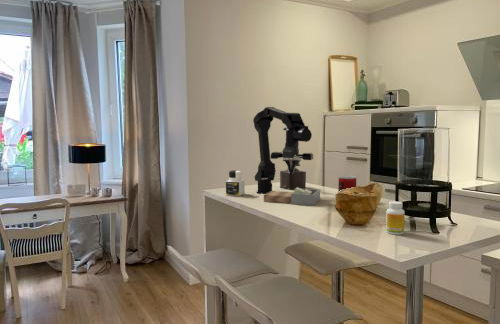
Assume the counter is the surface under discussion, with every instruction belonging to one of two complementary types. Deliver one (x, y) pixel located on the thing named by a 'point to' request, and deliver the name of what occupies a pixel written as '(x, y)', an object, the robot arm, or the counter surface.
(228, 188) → the medicine bottle
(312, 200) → the box
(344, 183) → the canned food
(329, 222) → the counter surface
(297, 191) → the sage tile
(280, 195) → the riser board
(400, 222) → the supplement bottle
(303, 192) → the cream tile
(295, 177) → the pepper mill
